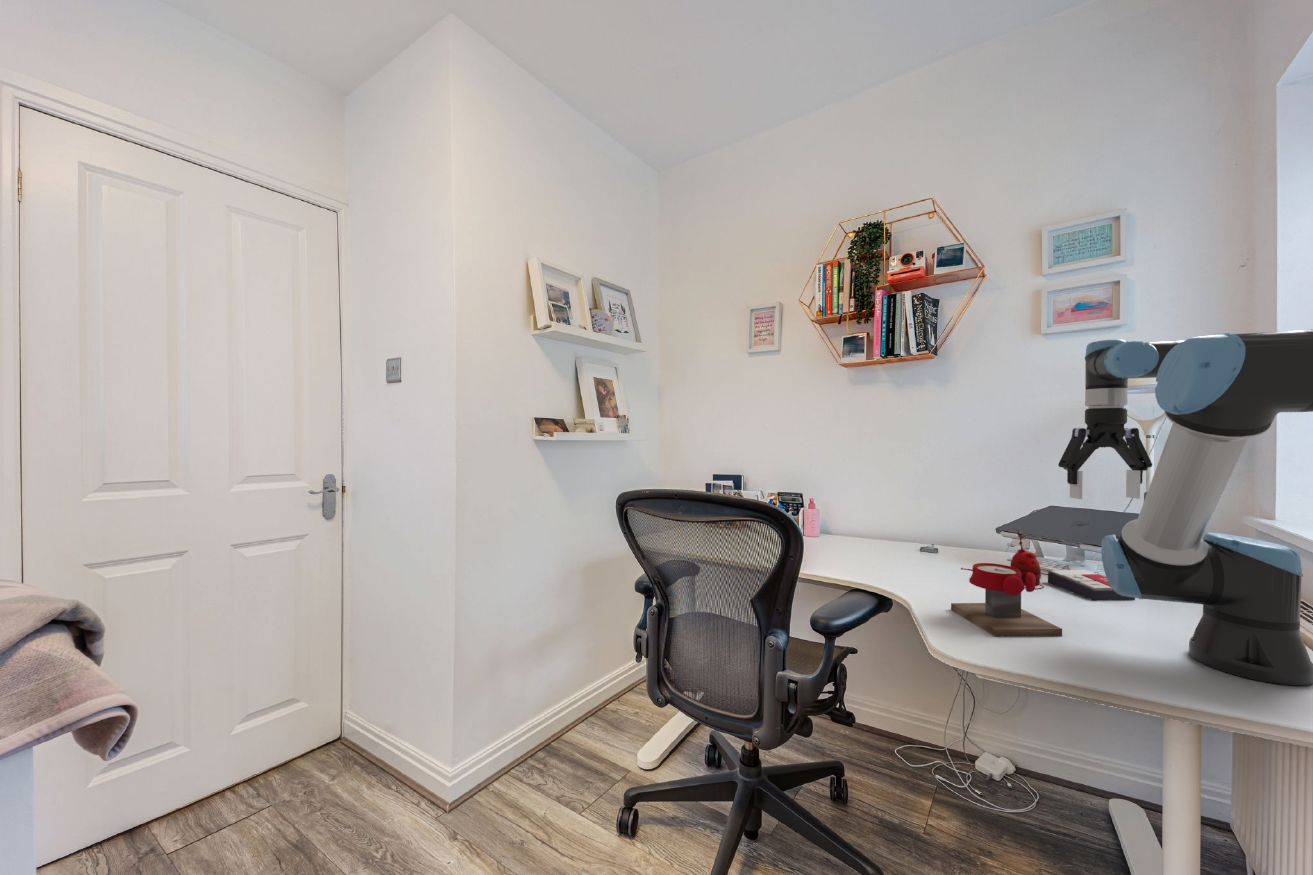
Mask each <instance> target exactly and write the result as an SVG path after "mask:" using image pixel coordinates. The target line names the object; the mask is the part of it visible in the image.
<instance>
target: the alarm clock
mask: <svg viewBox="0 0 1313 875" xmlns="http://www.w3.org/2000/svg"><path fill="white" fill-rule="evenodd" d="M1010 566H1011V565H1005V564H999V563H988V562H978V563H974V564H973V565H972V569H970V568H964V567H961V568H960V570H965V571H971V572H972V573H971V576H970V577H969V579H968V580H969V584H972V585H973V586H974V587H978V588H980V589H984V590H985V589H988V590H994V591H1001V592H1006V593H1007V594H1009V595H1018V594H1020V593H1021V594H1022V592H1023V591H1025V592H1027V593H1032V592H1034V591H1037V590H1043V589H1044V588H1045V586H1044V585H1043V584H1041V583H1040V584H1039V583H1037V582H1036V577H1035V575H1034V574H1033V573H1030V572H1028V573H1027V576H1026V583H1024V582H1023V581H1022V580H1021V571H1020V570H1019V569H1017V568H1014V567H1010ZM1037 586H1040V587H1037ZM1036 587H1037V588H1036Z"/></svg>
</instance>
